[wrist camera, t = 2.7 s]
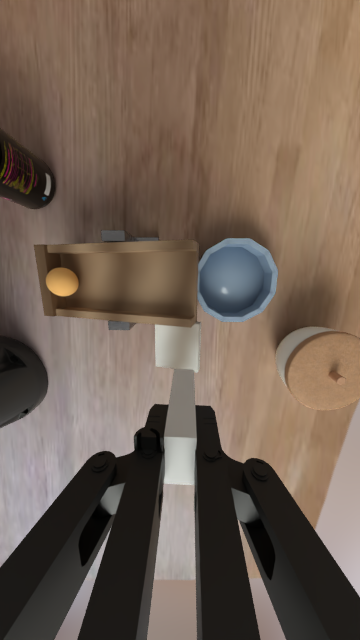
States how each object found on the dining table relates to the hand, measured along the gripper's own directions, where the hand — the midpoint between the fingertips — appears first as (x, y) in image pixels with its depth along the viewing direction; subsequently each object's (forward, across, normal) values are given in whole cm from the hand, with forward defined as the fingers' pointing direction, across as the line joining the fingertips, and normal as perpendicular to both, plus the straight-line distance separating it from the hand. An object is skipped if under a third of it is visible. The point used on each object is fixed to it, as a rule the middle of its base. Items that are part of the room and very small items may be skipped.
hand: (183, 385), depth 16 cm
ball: (+8, -14, +7) cm, 18 cm away
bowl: (+17, +6, +7) cm, 20 cm away
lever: (+9, -7, +5) cm, 13 cm away
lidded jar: (+18, +18, -4) cm, 25 cm away
